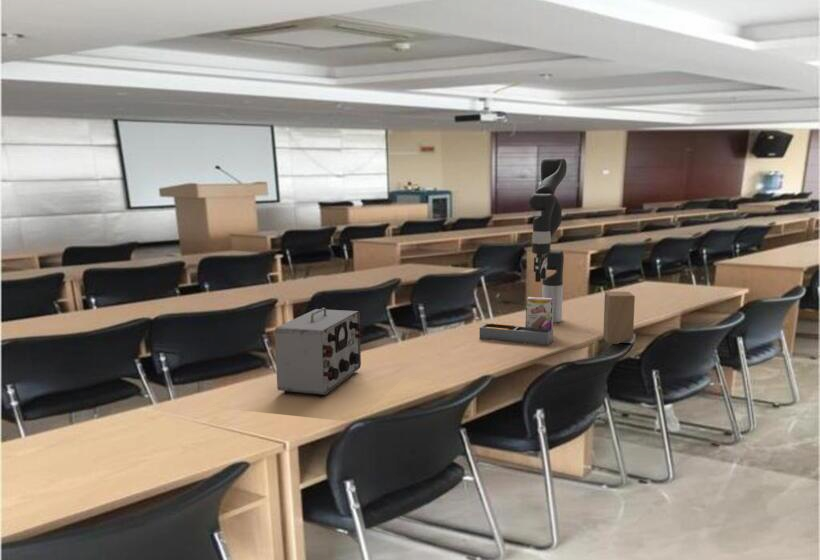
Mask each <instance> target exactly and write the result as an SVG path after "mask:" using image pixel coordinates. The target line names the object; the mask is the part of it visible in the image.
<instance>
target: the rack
mask: <svg viewBox="0 0 820 560" xmlns="http://www.w3.org/2000/svg"><path fill="white" fill-rule="evenodd" d="M483 339H485V340H484V341H493V340H494V341H495V342H505V343H512V344H513V343H514V344H523V343H526V344H525V345H533V344H534V346H543V345H544V346H546V347H548V346H550V344H552V342H554V328H553V329H544V328H533V327H526V326H522V325H521V326H520V325H515V324H505V323H494V322H491V323H485V324H483V325H481V326H480V327H479V340H483ZM544 346H543V347H544Z"/></svg>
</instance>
